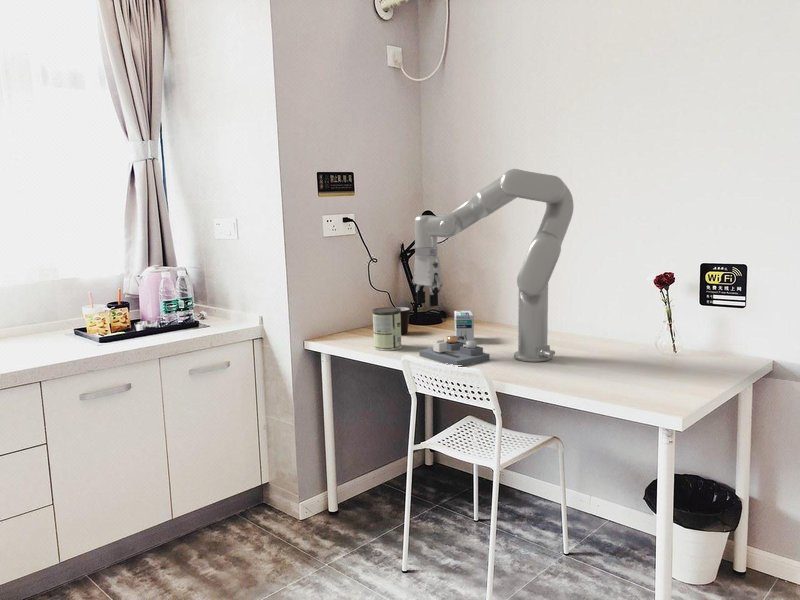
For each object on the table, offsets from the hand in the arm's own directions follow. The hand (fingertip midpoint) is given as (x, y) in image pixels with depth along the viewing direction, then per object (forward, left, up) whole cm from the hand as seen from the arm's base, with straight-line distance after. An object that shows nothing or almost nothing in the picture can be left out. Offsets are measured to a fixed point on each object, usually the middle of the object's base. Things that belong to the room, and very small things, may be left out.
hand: (427, 304), depth 230 cm
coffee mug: (+34, -12, -18) cm, 41 cm away
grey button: (-14, -7, -14) cm, 21 cm away
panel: (-10, -4, -18) cm, 20 cm away
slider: (-7, 0, -15) cm, 16 cm away
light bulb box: (+8, -24, -18) cm, 31 cm away
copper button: (-4, -7, -14) cm, 16 cm away
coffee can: (+18, +4, -18) cm, 26 cm away
